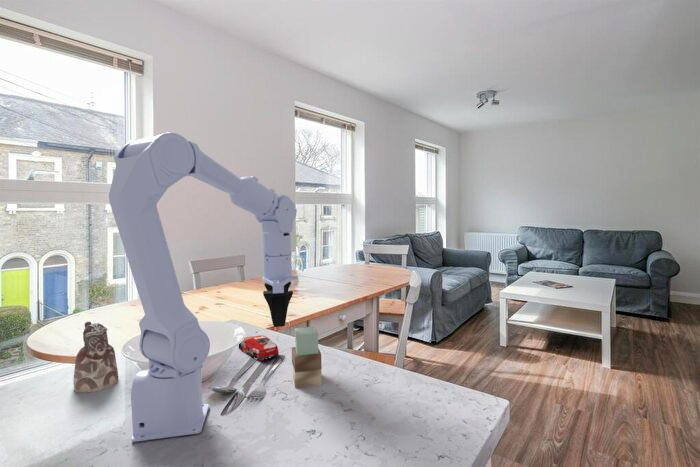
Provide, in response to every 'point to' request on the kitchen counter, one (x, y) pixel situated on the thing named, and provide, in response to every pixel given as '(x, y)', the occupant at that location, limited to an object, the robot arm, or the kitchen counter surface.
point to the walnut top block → (306, 361)
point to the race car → (259, 347)
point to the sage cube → (306, 340)
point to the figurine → (95, 361)
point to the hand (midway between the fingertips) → (278, 320)
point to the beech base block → (307, 378)
